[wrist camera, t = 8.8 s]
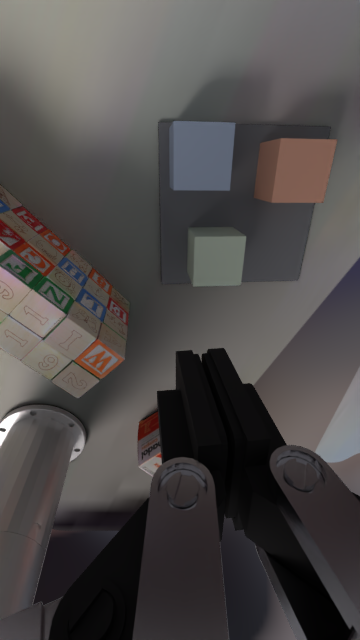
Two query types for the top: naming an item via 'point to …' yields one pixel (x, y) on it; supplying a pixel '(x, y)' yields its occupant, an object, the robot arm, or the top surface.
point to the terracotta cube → (294, 170)
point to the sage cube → (215, 256)
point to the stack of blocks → (56, 305)
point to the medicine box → (149, 444)
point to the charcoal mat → (237, 210)
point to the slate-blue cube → (201, 155)
